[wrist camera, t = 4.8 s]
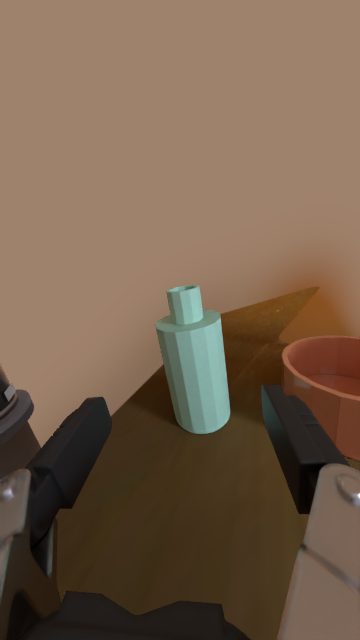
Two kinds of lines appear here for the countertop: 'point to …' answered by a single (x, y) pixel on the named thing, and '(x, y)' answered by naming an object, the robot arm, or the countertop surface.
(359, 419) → the terracotta bowl
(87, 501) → the countertop surface
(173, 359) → the bottle
